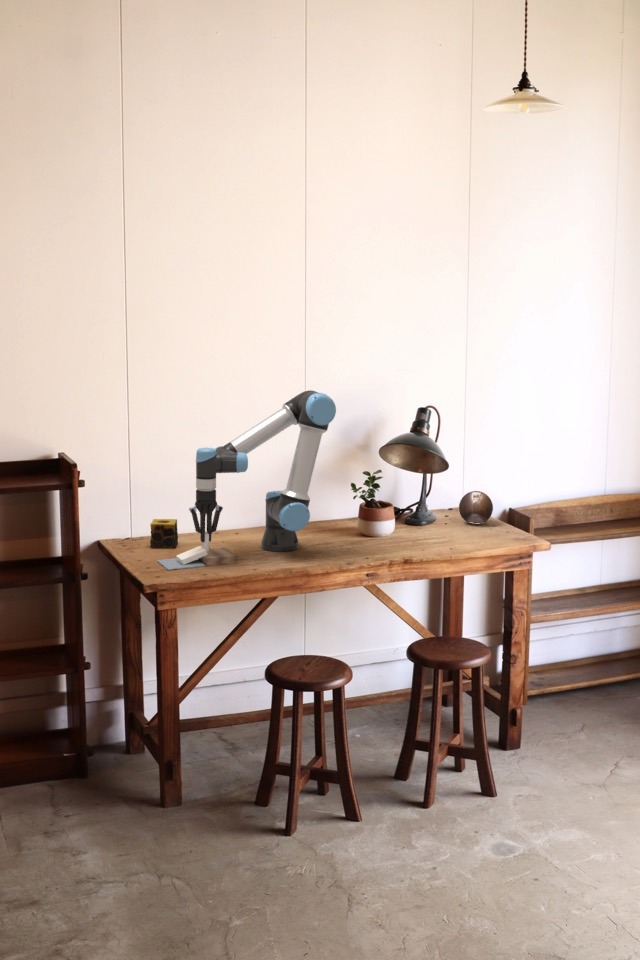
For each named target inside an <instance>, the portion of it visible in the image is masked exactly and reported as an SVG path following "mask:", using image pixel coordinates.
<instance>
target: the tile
mask: <svg viewBox="0 0 640 960" xmlns="http://www.w3.org/2000/svg"><path fill="white" fill-rule="evenodd" d="M206 555H208V554H207V551H206V550H205V549H204V548H203V546H201V545H199V546H197V547H193V548H191V549H189V550H187V551H184V552H182V553H180V554H178V555H175V556H176V557H175V558H177V560H178V561H179V562H180V563H182V564H183V565H184V564H187V563H189V562H192V561H194V560H196V559H199V558H201V557H204V556H206Z"/></svg>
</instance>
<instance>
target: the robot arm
mask: <svg viewBox="0 0 640 960" xmlns="http://www.w3.org/2000/svg"><path fill="white" fill-rule="evenodd" d="M281 407H282V408H281V409H278V410H276V411H275V412H274V413H272V414H271V415H269V416H268V417H266V418H264V419H263V420H261V421H260V422H259V423H257V424H256V425H254V426H252V427H251V428H249V429H248V430H246V431H245V432H243V433H242V434H240V435H238V436H237V437H236V438H234V439H232V440H231V441H229V442H228V443H226V444H225V445H223V446H217V447H215V448H213V447H200V448H198V449H197V450H196V452H195V453H196V454H195V455H196V456H195V472H196V473H195V475H196V476H195V477H196V478H195V488H196V490H195V503H194V506H192V507H189V508H188V511H189V512H190V513H191V516H192V521H193V524H194V529H195V532H197V533H198V534H200V543H202V547H203V548H204V549H205V550H206V551H209V549H210V543H211V542H212V534H213V533H215V532H217V529H218V528H217V527H218V525H219V524H218V523H219V520H220V516H221V512H222V511H223V509H224V507H223V506H221V505H219V504H218V502H217V490H216V488H217V474H226V473H227V474H229V473H230V474H231V473H232V474H236V473H237V474H239V473H245V472H247V470H248V467H249V459H248V458H249V457H248V454H249V453H250V452H252V451H254V450H255V449H256V448H258V447H261V445H263V444H265V443H266V442H267V441H269V440H270V439H273V438H274V437H275V436H277V435H278V434H279V433H282V432H283V431H285V430H286V429H287V428H289V427H291V426H292V425H293V426H297V425H298V426H299V429H300V431H299V434H298V439H297V443H296V447H295V450H294V455H293V459H292V463H291V467H290V470H289V471H290V472H289V476H288V480H287V483H286V488H285V489H283V490H272V491H267V493H266V494H265V529H264V533H263V535H262V538H261V541H260V545H261V546H260V547H261V549H263V550H265V551H270V552H289V551H290V552H291V550H292V551H295V549H296V550H298V549H299V548H298V547H300V545H299V544H300V542H299V538H298V535H297V533H296V532H298V531H300V530H302V529H304V528H305V527H306V526H307V525H308V523H309V522H310V517H311V512H310V510H309V505H310V502H311V498H310V496H309V494H308V493H309V488H310V486H311V482H312V478H313V473H314V470H315V465H316V461H317V456H318V453H319V449H320V445H321V442H322V437H323V434H324V433H326V432H328V429H329V425H330V423H332V421H333V420H334V419H335V417H336V415H337V414H336V413H337V407H336V403H335V402H334V400H333V399H332V398H331V396H329V395H328V394H326V393H323V392H319V391H318V392H317V391H315V390H311V389H310V390H305V391H302V392H299V394H297V395H295V396H294V397H292V398H291V399H289V400H288V401H286V402H285V403H283V404H282V406H281ZM214 510H215V511H214ZM197 511H198V512H199V518H198V514H197ZM213 512H214V515H213ZM212 517H213V518H212ZM199 520H200V521H199ZM297 548H298V549H297Z"/></svg>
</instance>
